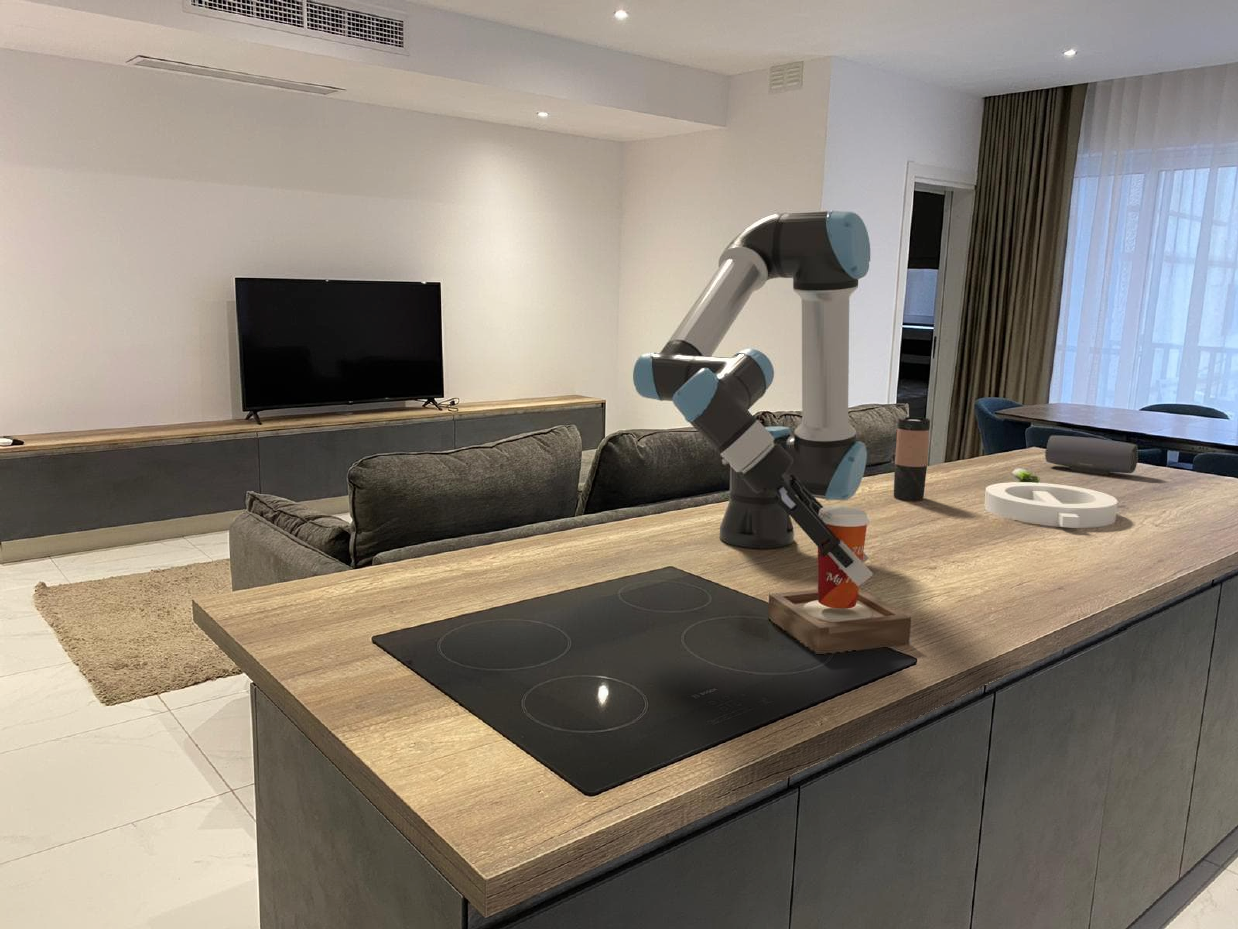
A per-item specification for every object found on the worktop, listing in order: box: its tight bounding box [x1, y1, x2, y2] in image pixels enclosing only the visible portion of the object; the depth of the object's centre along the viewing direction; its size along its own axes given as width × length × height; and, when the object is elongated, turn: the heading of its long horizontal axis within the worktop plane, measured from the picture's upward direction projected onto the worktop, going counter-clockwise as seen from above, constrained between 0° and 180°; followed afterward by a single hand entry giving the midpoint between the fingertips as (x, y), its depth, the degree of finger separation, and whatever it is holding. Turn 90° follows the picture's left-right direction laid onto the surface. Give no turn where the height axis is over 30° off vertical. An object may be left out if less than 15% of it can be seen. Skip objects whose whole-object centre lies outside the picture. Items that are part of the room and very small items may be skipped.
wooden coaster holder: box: [767, 588, 912, 655], centre depth 135 cm, size 15×15×4 cm
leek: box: [1011, 468, 1041, 483], centre depth 243 cm, size 6×7×30 cm
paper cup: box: [817, 505, 870, 609], centre depth 133 cm, size 8×8×14 cm
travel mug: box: [893, 416, 931, 502], centre depth 224 cm, size 8×8×20 cm
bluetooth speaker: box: [1044, 435, 1139, 475], centre depth 263 cm, size 23×9×10 cm, turn 46°
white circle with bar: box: [983, 481, 1118, 529], centre depth 212 cm, size 28×28×5 cm
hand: (863, 571), depth 132 cm, fingers closed on paper cup, 8 cm apart
